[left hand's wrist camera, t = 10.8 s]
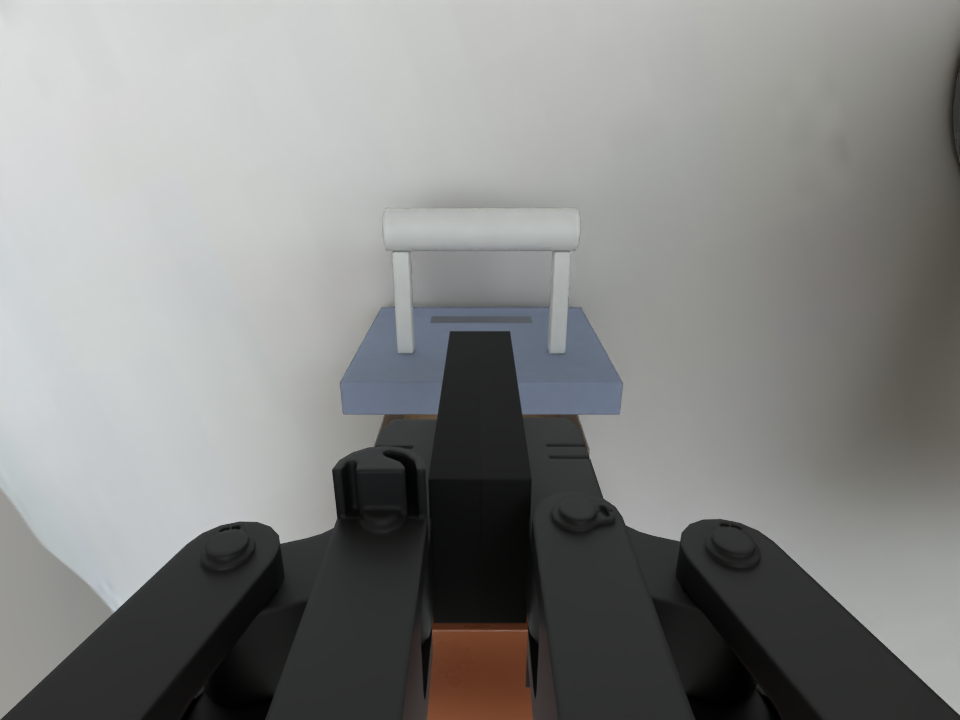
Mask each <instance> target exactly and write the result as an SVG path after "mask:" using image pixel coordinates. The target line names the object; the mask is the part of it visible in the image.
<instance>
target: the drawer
mask: <svg viewBox="0 0 960 720" xmlns="http://www.w3.org/2000/svg"><path fill="white" fill-rule="evenodd" d="M579 239H580V214H579V210H578V209H577V208H386V209H385V210H384V213H383V240H384V245H385V248H386V250H387V251H393V252H392V264H393V281H394V299H395V307H382V308H381V310H380V311H379V313H378V315H377V317H376V319H375V320H374V322H373V324H372V326H371V328H370V329H369V331H368V333H367V335H366V337H365V338H364V340H363V342H362V344H361V346H360V348H359V349H358V351H357V353H356V355H355V357H354V358H353V360H352V362H351V364H350V366H349V367H348V369H347V371H346V373H345V375H344V376H343V378H342V380H341V382H340V388H341V398H342V409H343V414H385V415H384V418H383V421H382V424H381V427H380V430H379V432H380V431H381V430H382V429H383V428H384V427H385V426H387V425H388V424H389V423H390V422H391V421H392V420H394V419H437V416H438V409H439V402H440V395H441V388H442V382H443V375H444V368H445V361H446V354H447V347H448V341H449V334H450V331H510V334H511V341H512V347H513V354H514V361H515V368H516V375H517V382H518V388H519V395H520V402H521V409H522V416H523V417H566V418H568V419H569V420H570V421H571V422H572V423H573V424H574V425H576V426H577V427H578V428H579V429H580V430H581V433H582V436H583V439H584V442H585V447H586V448H587V451H588V454H589V447H588V444H587V441H586V438H585V435H584V432H583V429H582V426H581V423H580V420H579V417H578V414H620V407H621V397H622V387H623V382H622V380H621V379H620V377H619V375H618V373H617V371H616V370H615V368H614V366H613V364H612V362H611V361H610V359H609V357H608V355H607V353H606V352H605V350H604V348H603V346H602V344H601V343H600V341H599V339H598V337H597V335H596V334H595V332H594V330H593V328H592V326H591V325H590V323H589V321H588V319H587V317H586V316H585V314H584V312H583V310H582V308H581V307H568V296H569V278H570V261H571V253H570V251H575V250H577V248H578V245H579ZM411 251H552V264H551V286H550V307H413V292H412V269H411ZM378 435H379V433H378ZM377 438H378V436H377ZM376 441H377V439H376ZM375 444H376V442H375ZM374 447H375V445H374Z"/></svg>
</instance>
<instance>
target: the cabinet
mask: <svg viewBox="0 0 960 720" xmlns="http://www.w3.org/2000/svg"><path fill="white" fill-rule="evenodd" d="M432 639H433V658H432V669H431V681H430V692H429V704H428V716H427V720H533V715H532V703H531V692H530V687H526V664H527V639H528V619H527V617H526V623H434V617H433V622H432Z"/></svg>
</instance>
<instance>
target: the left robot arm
mask: <svg viewBox="0 0 960 720" xmlns="http://www.w3.org/2000/svg"><path fill="white" fill-rule="evenodd" d="M953 125H954V138H955V145H956V151H957V155H958V159H959V162H960V68H959V72H958V76H957V81H956V88H955V95H954V110H953ZM332 472H333V481H334V490H335V500H336V509H337V521H336V524H335V527H334V528H333V529H331V530H329V531H327V532H325V533H322V534H320V535H316V536H313V537H310V538H306V539H301V540H297V541H292V542H287V543H283V544H280V541H279V535H278V534H277V533H276V532H275V531H274V530H273V529H272V528H271V527H270V526H267V525H264V524H261V523H258V522H236V523H231V524H226V525H221V526H218V527H216V528H214V529H211V530H209V531H207V532H204V533H202V534H201V535H199V536H198V537H196V538H195V539H194V540H192V541H191V542H190V543H188V544H187V545H186V546H185V547H184V548H183V549H181V550H180V551H179V552H178V553H177V554H176V555H175V556H174V557H173V558H172V559H171V560H170V561H169V562H168V563H167V564H166V565H164V566H163V567H162V568H161V569H160V570H159V571H158V572H157V573H156V574H155V575H154V576H153V577H152V578H151V579H150V580H148V581H147V582H146V583H145V584H144V585H143V586H142V587H141V588H140V589H139V590H138V591H137V592H136V593H135V594H134V595H133V596H131V597H130V598H129V599H128V600H127V601H126V602H125V603H124V604H123V605H122V606H121V607H120V608H119V609H118V610H117V611H116V612H114V613H113V614H112V615H111V616H110V617H109V618H108V619H107V620H106V621H105V622H104V623H103V624H102V625H101V626H100V627H99V628H98V629H96V630H95V631H94V632H93V633H92V634H91V635H90V636H89V637H88V638H87V639H86V640H85V641H84V642H83V643H82V644H80V645H79V646H78V647H77V648H76V649H75V650H74V651H73V652H72V653H71V654H70V655H69V656H68V657H67V658H66V659H65V660H63V661H62V662H61V663H60V664H59V665H58V666H57V667H56V668H55V669H54V670H53V671H52V672H51V673H50V674H49V675H48V676H46V677H45V678H44V679H43V680H42V681H41V682H40V683H39V684H38V685H37V686H36V687H35V688H34V689H33V690H32V691H31V692H29V693H28V694H27V695H26V696H25V697H24V698H23V699H22V700H21V701H20V702H19V703H18V704H17V705H16V706H15V707H14V708H12V709H11V710H10V711H9V712H8V713H7V714H6V715H5V716H4V717H3V718H2V719H1V720H427V716H428V704H429V692H430V681H431V669H432V658H433V639H432V622H433V617H434V623H526V617H527V619H528V639H527V664H526V687H530V692H531V703H532V715H533V720H960V715H959V714H958V713H957V712H955V711H954V710H953V709H952V708H951V707H950V706H949V705H948V704H947V703H946V702H945V701H944V700H943V699H942V698H940V697H939V696H938V695H937V694H936V693H935V692H934V691H933V690H932V689H931V688H930V687H929V686H928V685H927V684H925V683H924V682H923V681H922V680H921V679H920V678H919V677H918V676H917V675H916V674H915V673H914V672H913V671H912V670H910V669H909V668H908V667H907V666H906V665H905V664H904V663H903V662H902V661H901V660H900V659H899V658H898V657H897V656H895V655H894V654H893V653H892V652H891V651H890V650H889V649H888V648H887V647H886V646H885V645H884V644H883V643H882V642H880V641H879V640H878V639H877V638H876V637H875V636H874V635H873V634H872V633H871V632H870V631H869V630H868V629H867V628H865V627H864V626H863V625H862V624H861V623H860V622H859V621H858V620H857V619H856V618H855V617H854V616H853V615H852V614H851V613H849V612H848V611H847V610H846V609H845V608H844V607H843V606H842V605H841V604H840V603H839V602H838V601H837V600H836V599H834V598H833V597H832V596H831V595H830V594H829V593H828V592H827V591H826V590H825V589H824V588H823V587H822V586H821V585H819V584H818V583H817V582H816V581H815V580H814V579H813V578H812V577H811V576H810V575H809V574H808V573H807V572H806V571H804V570H803V569H802V568H801V567H800V566H799V565H798V564H797V563H796V562H795V561H794V560H793V559H792V558H791V557H789V556H788V555H787V554H786V553H785V552H784V551H783V550H782V549H781V548H780V547H779V546H778V545H777V544H776V543H774V542H773V541H772V540H770V539H769V538H768V537H766V536H765V535H763V534H762V533H761V532H759V531H757V530H755V529H753V528H750V527H748V526H746V525H743V524H741V523H737V522H733V521H727V520H722V519H709V520H701V521H698V522H695V523H692V524H690V525H689V526H688V527H687V528H686V529H685V530H684V531H683V532H682V534H681V541H680V542H679V541H675V540H670V539H665V538H661V537H656V536H652V535H648V534H645V533H642V532H639V531H636V530H634V529H632V528H630V527H628V526H626V525H625V523H624V520H623V517H622V516H621V514H620V513H619V512H618V510H617V509H616V507H615V506H613V505H612V504H610V503H609V502H607V501H606V500H605V499H603V496H602V493H601V490H600V487H599V484H598V481H597V478H596V475H595V472H594V469H593V466H592V463H591V460H590V459H589V454H588V451H587V448H586V447H585V442H584V439H583V436H582V433H581V430H580V429H579V428H578V427H577V426H576V425H574V424H573V423H572V422H571V421H570V420H569V419H568V418H566V417H523V416H522V409H521V402H520V395H519V388H518V382H517V375H516V368H515V361H514V354H513V347H512V341H511V334H510V331H450V334H449V341H448V347H447V354H446V361H445V368H444V375H443V382H442V388H441V395H440V402H439V409H438V416H437V419H394V420H392V421H391V422H390V423H389V424H388V425H387V426H385V427H384V428H383V429H382V430H381V431H380V432H379V435H378V438H377V441H376V444H375V447H370V448H366V449H363V450H359V451H356V452H353V453H351V454H349V455H348V456H346V457H344V458H343V459H341V460H340V461H339V462H338V463H337V464H336V466H335V467H334V468H333V469H332Z"/></svg>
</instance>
